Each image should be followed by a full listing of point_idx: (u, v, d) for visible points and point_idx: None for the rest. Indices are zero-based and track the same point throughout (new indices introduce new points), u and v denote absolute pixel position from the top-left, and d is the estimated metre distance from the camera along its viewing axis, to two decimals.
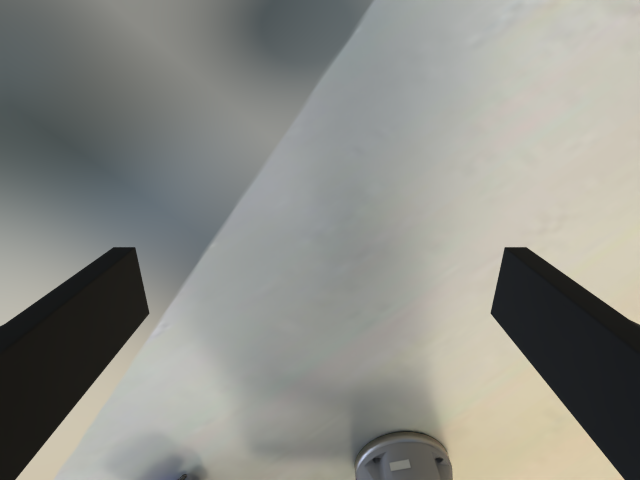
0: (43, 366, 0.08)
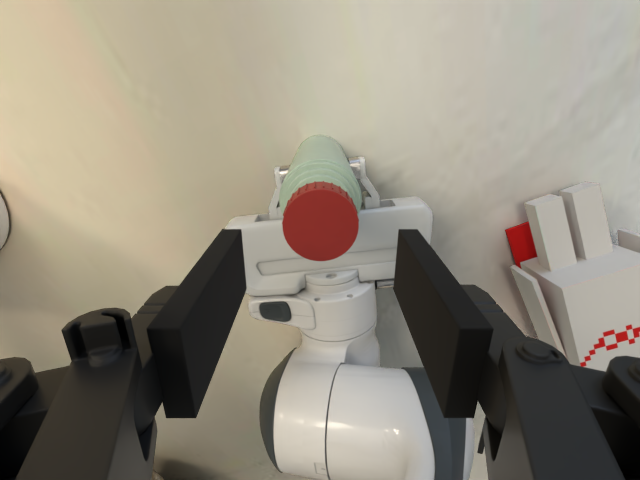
0: (209, 319, 0.10)
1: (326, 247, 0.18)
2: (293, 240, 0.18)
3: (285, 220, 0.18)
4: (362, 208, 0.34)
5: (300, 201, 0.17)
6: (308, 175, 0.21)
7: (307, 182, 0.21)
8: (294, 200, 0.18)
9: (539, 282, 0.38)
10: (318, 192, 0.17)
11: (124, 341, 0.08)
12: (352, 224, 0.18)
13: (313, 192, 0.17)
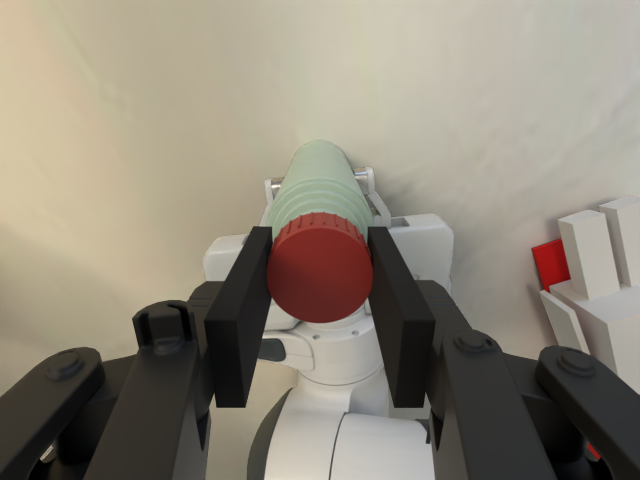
0: (252, 313, 0.10)
1: (328, 305, 0.13)
2: (281, 296, 0.13)
3: (270, 269, 0.13)
4: None
5: (291, 244, 0.12)
6: (304, 200, 0.16)
7: (302, 210, 0.15)
8: (282, 242, 0.12)
9: (574, 311, 0.32)
10: (316, 231, 0.12)
11: (186, 332, 0.08)
12: (365, 275, 0.13)
13: (309, 231, 0.12)
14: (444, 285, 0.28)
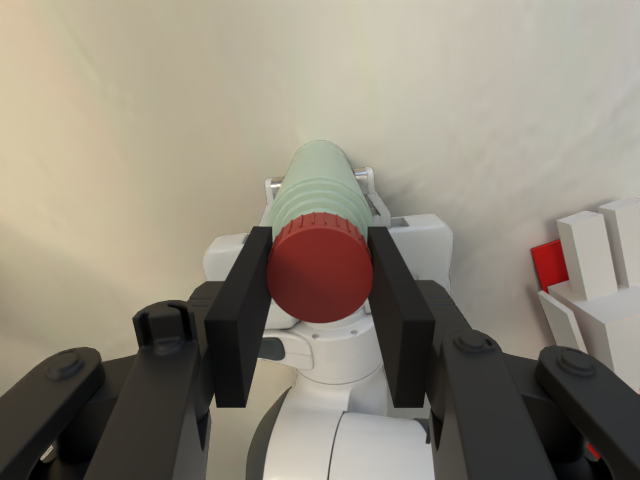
0: (253, 313, 0.10)
1: (344, 257, 0.12)
2: (355, 299, 0.13)
3: (334, 319, 0.13)
4: None
5: (301, 314, 0.13)
6: (304, 199, 0.16)
7: (302, 209, 0.15)
8: (304, 320, 0.13)
9: (572, 312, 0.33)
10: (278, 301, 0.13)
11: (186, 332, 0.08)
12: (294, 244, 0.12)
13: (282, 306, 0.13)
14: (443, 285, 0.28)
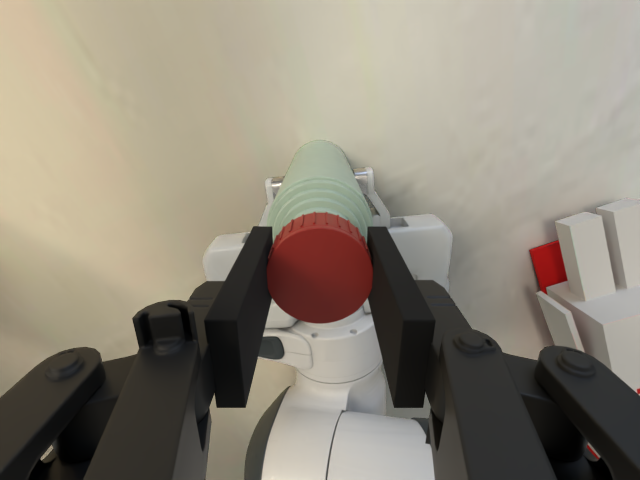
0: (253, 313, 0.10)
1: (288, 269, 0.13)
2: (323, 238, 0.12)
3: (356, 245, 0.12)
4: None
5: (366, 276, 0.13)
6: (304, 199, 0.16)
7: (303, 208, 0.16)
8: (371, 269, 0.13)
9: (570, 312, 0.33)
10: (361, 299, 0.13)
11: (186, 333, 0.08)
12: (299, 312, 0.13)
13: (366, 295, 0.13)
14: (442, 285, 0.28)
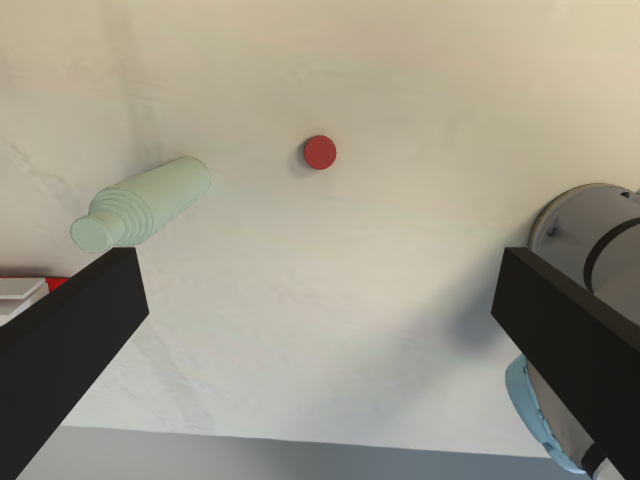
0: (43, 366, 0.08)
1: (321, 163, 0.44)
2: (308, 158, 0.43)
3: (305, 149, 0.43)
4: None
5: (312, 141, 0.42)
6: (139, 224, 0.29)
7: (133, 224, 0.29)
8: (310, 141, 0.43)
9: None
10: (320, 138, 0.42)
11: None
12: (333, 153, 0.43)
13: (318, 138, 0.42)
14: None
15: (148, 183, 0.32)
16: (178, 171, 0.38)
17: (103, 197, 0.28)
